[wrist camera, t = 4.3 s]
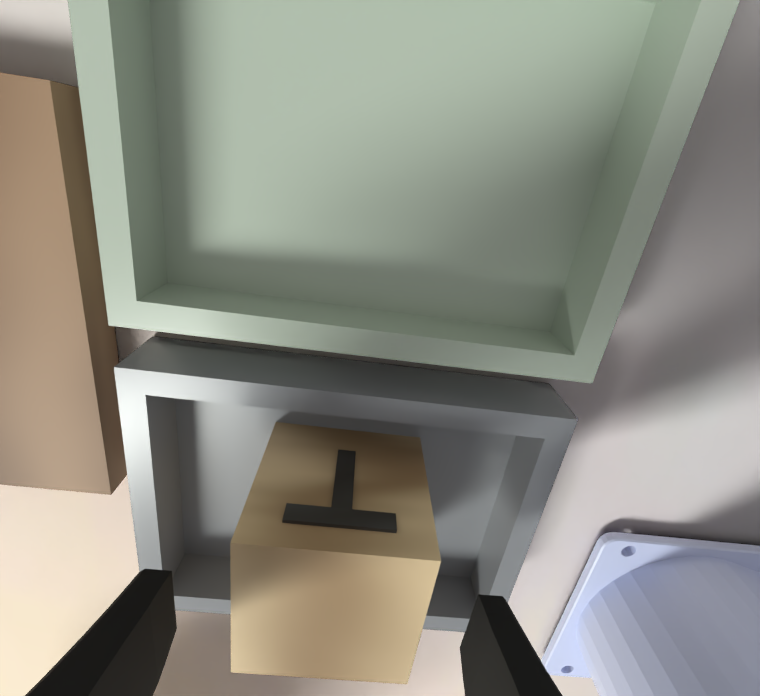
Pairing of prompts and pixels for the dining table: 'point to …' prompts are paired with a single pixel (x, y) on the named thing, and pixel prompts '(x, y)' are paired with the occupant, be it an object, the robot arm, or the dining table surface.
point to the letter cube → (333, 557)
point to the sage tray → (387, 168)
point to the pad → (53, 301)
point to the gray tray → (342, 411)
